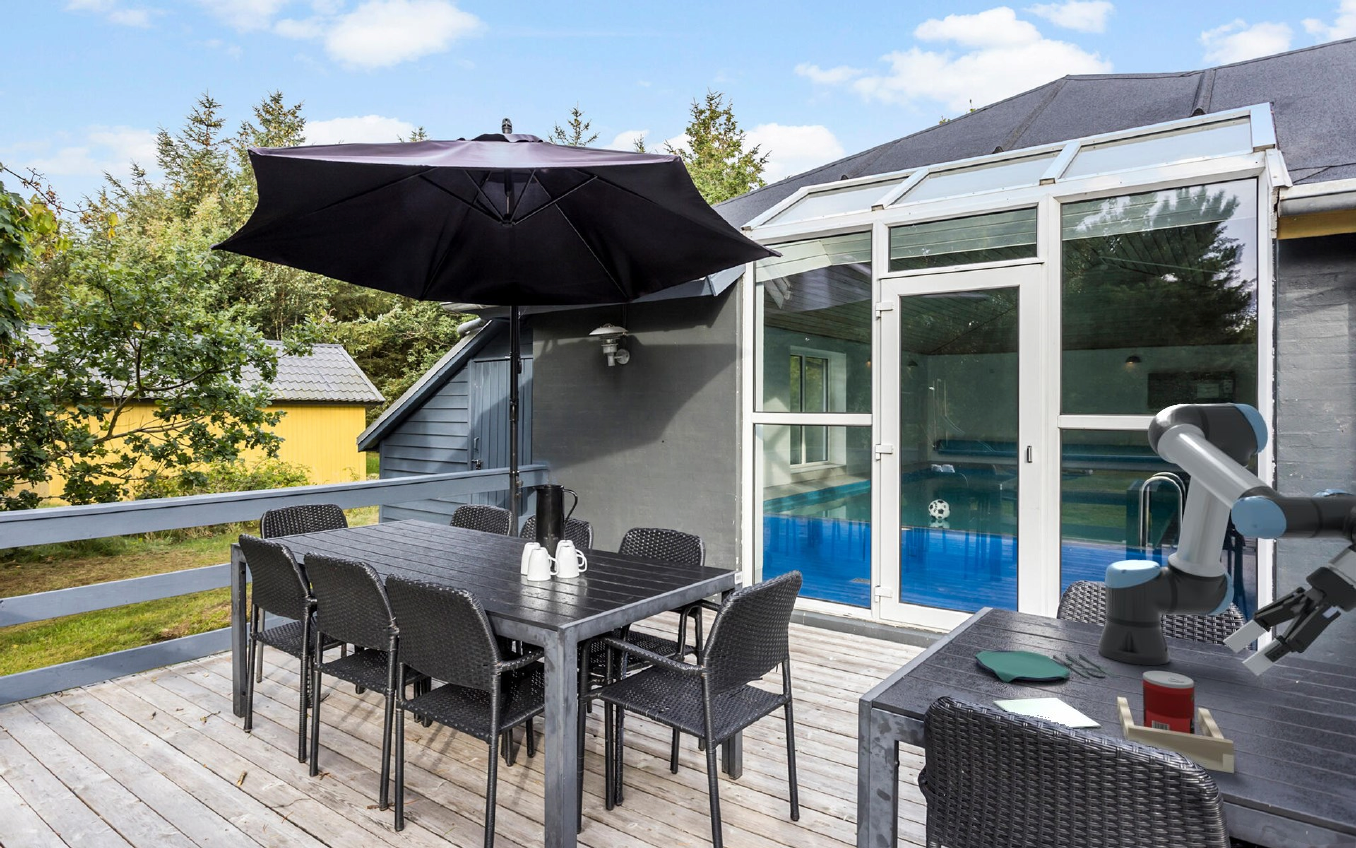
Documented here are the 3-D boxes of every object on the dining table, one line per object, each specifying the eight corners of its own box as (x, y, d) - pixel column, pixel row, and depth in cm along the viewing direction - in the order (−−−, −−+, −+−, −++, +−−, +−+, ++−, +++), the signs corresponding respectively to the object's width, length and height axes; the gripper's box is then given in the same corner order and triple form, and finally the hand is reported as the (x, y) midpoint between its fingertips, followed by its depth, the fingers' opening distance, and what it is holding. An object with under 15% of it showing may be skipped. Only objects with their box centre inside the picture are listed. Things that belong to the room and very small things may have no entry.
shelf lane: (1117, 711, 147) (1117, 686, 147) (1207, 724, 140) (1207, 698, 140) (1129, 755, 128) (1128, 727, 128) (1234, 773, 121) (1233, 743, 121)
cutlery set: (962, 657, 181) (962, 648, 181) (1079, 657, 182) (1079, 648, 182) (998, 688, 162) (998, 677, 161) (1130, 687, 162) (1130, 677, 162)
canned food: (1203, 746, 131) (1202, 686, 131) (1154, 743, 132) (1153, 683, 132) (1182, 729, 138) (1181, 671, 138) (1136, 726, 140) (1135, 669, 140)
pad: (1056, 699, 153) (1056, 697, 153) (1100, 727, 139) (1100, 725, 139) (993, 702, 152) (993, 701, 152) (1031, 731, 138) (1031, 729, 138)
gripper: (1400, 615, 112) (1279, 698, 118) (1337, 583, 134) (1239, 654, 140) (1354, 578, 114) (1239, 661, 120) (1300, 553, 136) (1205, 624, 143)
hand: (1238, 657), depth 130 cm, fingers open, 13 cm apart
